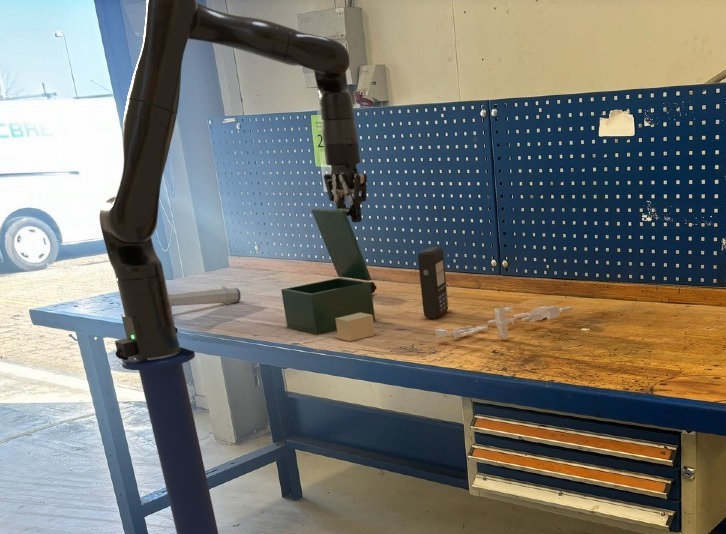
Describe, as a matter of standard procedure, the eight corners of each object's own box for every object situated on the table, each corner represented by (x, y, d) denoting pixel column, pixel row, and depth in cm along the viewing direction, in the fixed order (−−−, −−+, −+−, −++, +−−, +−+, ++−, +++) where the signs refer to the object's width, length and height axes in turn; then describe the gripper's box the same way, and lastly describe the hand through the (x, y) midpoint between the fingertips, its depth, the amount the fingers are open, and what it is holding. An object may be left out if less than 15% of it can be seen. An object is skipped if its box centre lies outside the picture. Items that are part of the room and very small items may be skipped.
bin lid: (342, 211, 184) (361, 201, 186) (311, 210, 192) (330, 200, 195) (369, 281, 192) (387, 270, 195) (338, 276, 201) (356, 266, 204)
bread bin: (316, 334, 186) (310, 294, 183) (287, 327, 194) (281, 289, 191) (375, 320, 196) (370, 282, 193) (344, 314, 204) (339, 277, 201)
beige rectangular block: (350, 341, 178) (347, 320, 177) (338, 338, 181) (335, 318, 180) (375, 335, 182) (372, 314, 181) (362, 332, 185) (360, 312, 184)
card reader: (439, 319, 193) (433, 252, 187) (422, 319, 193) (415, 253, 188) (450, 310, 201) (444, 246, 195) (434, 310, 202) (428, 246, 196)
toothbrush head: (241, 287, 226) (149, 291, 208) (243, 312, 227) (151, 319, 209) (231, 285, 229) (139, 290, 211) (232, 310, 231) (141, 317, 213)
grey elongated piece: (468, 350, 161) (423, 352, 169) (574, 322, 187) (531, 325, 195) (462, 316, 160) (418, 320, 168) (571, 292, 186) (527, 297, 193)
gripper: (308, 143, 189) (318, 222, 195) (344, 141, 179) (354, 224, 185) (337, 141, 194) (346, 218, 200) (373, 140, 184) (382, 221, 190)
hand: (350, 221), depth 193 cm, fingers closed on bin lid, 5 cm apart
